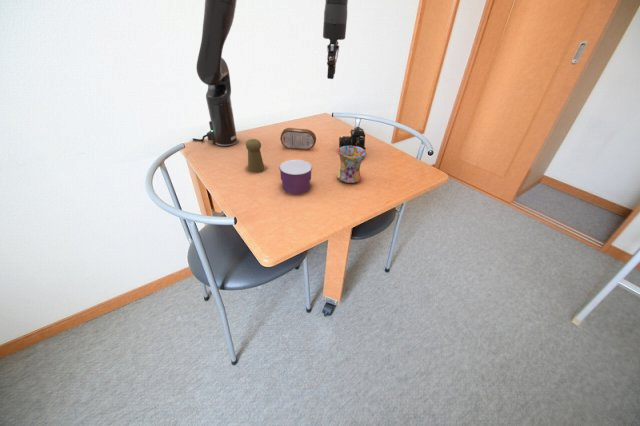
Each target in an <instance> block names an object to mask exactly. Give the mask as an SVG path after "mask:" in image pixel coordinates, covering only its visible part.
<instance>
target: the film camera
mask: <svg viewBox="0 0 640 426" xmlns="http://www.w3.org/2000/svg"><path fill="white" fill-rule="evenodd" d="M349 132H350V136H349V135H346V136H345V135H343V136H339V137H338V138H339V139H338V149H339V148H341V147H343V146H357V147H360V148H362V149H364V150H365V151H366V149H367V148H366V147H365V146H366V145H365V144H366V133H365V130H364V128H362V127H360V126H356V127H354V128H353V129H350V131H349Z"/></svg>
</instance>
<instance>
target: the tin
mask: <svg viewBox="0 0 640 426" xmlns="http://www.w3.org/2000/svg"><path fill="white" fill-rule="evenodd" d="M279 140H280V142H281V145H282V146H283V147H285V148H287V149H290V150H291V149H293V150H304V151H305V150H306V151H308V150H311V149H313V148H314V147H315V145H316V142H317V136H316V134H315V132H313V130H310V129H308V128H307V129H306V128H295V127H293V128H292V127H287V128H286V127H285V128H284V129H283V130H282V132H281V133H280V138H279Z"/></svg>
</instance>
